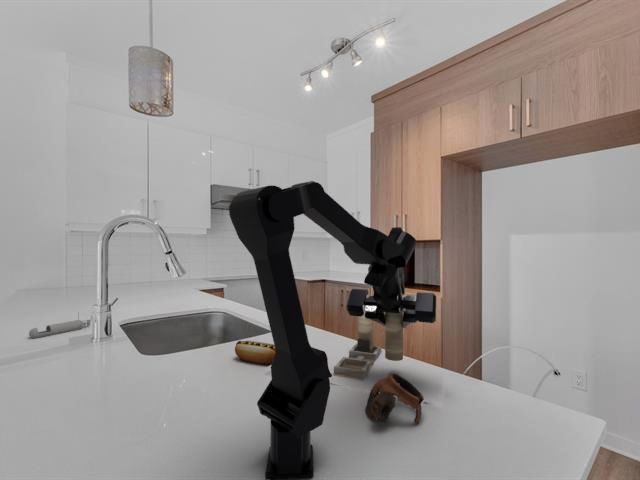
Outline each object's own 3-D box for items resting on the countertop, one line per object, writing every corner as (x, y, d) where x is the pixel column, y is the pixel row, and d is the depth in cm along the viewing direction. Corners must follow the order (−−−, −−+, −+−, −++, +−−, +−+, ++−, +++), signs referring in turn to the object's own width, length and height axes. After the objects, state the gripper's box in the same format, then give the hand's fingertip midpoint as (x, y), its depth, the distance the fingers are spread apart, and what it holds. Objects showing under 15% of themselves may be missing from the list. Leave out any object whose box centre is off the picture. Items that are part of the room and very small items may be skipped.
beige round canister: (401, 361, 71) (401, 303, 71) (383, 359, 72) (383, 302, 72) (404, 355, 75) (404, 300, 75) (387, 353, 76) (387, 298, 77)
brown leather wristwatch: (371, 400, 65) (392, 366, 65) (411, 437, 59) (434, 400, 59) (346, 411, 55) (370, 370, 55) (391, 456, 50) (419, 411, 49)
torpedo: (32, 340, 104) (33, 320, 104) (26, 338, 106) (26, 318, 106) (93, 328, 119) (93, 310, 120) (86, 326, 122) (87, 309, 122)
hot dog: (273, 369, 80) (273, 349, 80) (230, 361, 85) (230, 342, 85) (282, 362, 85) (283, 343, 85) (241, 355, 90) (242, 337, 90)
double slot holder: (362, 385, 70) (362, 373, 71) (332, 380, 73) (332, 368, 73) (382, 355, 90) (382, 345, 90) (357, 351, 93) (357, 342, 93)
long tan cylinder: (370, 358, 84) (370, 308, 84) (356, 356, 86) (356, 307, 86) (374, 352, 88) (374, 305, 88) (360, 350, 90) (360, 304, 90)
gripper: (435, 255, 66) (438, 299, 77) (350, 254, 74) (362, 295, 84) (434, 299, 59) (436, 341, 69) (339, 292, 66) (354, 332, 76)
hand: (394, 325), depth 75 cm, fingers closed on beige round canister, 4 cm apart
